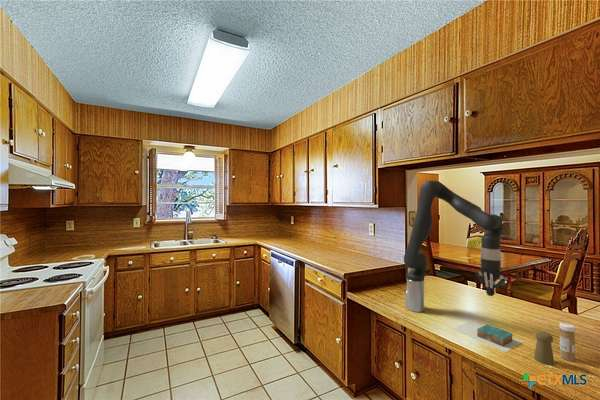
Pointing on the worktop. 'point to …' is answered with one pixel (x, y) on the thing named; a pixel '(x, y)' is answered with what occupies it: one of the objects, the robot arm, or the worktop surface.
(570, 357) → the sprinkles bottle
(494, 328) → the teal and brown block
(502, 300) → the worktop surface
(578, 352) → the worktop surface
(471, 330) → the sage mat
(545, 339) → the brown rounded upright piece
